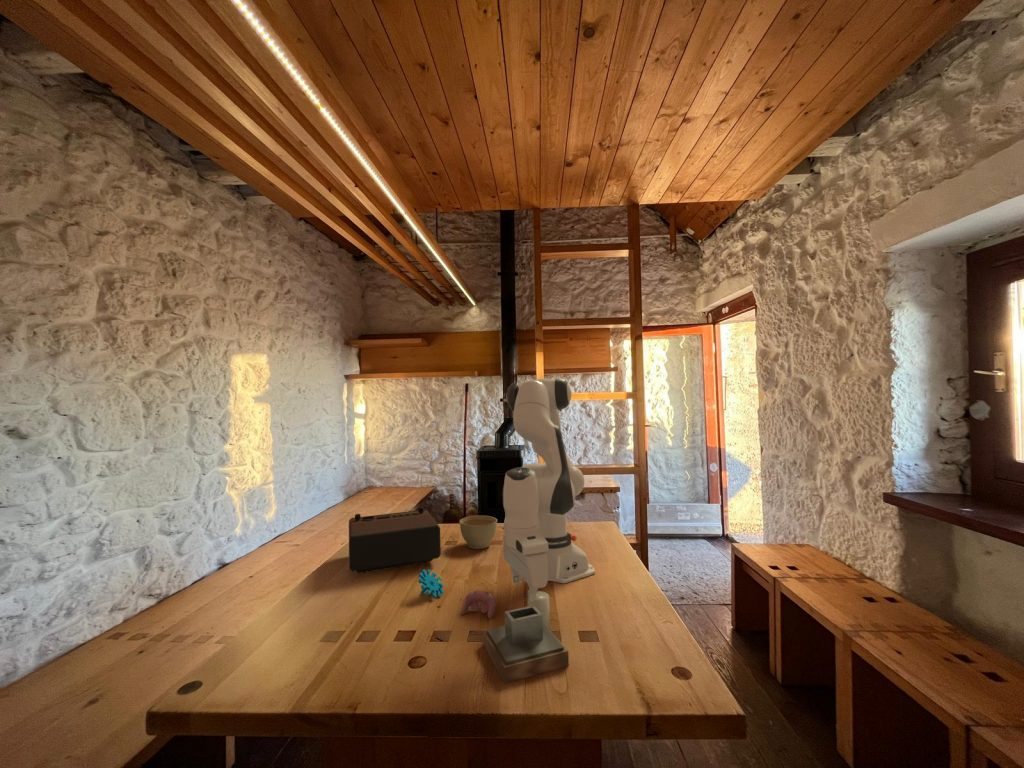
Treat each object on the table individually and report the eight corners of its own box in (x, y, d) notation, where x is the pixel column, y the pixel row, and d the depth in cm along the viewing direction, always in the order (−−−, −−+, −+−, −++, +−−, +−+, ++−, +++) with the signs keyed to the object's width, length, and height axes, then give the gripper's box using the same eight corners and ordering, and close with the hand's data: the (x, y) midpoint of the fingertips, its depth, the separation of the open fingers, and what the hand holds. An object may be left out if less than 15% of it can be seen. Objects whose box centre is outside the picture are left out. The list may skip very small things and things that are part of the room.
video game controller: (496, 619, 124) (499, 593, 127) (490, 619, 120) (494, 592, 123) (465, 615, 127) (469, 589, 130) (459, 614, 123) (463, 588, 126)
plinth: (540, 631, 114) (539, 616, 114) (568, 665, 99) (568, 648, 100) (483, 644, 109) (483, 628, 109) (504, 683, 94) (504, 664, 94)
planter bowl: (496, 552, 175) (496, 525, 175) (457, 552, 175) (457, 526, 175) (498, 539, 191) (497, 514, 191) (462, 539, 191) (462, 515, 191)
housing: (505, 636, 105) (504, 611, 105) (534, 629, 108) (534, 605, 108) (512, 647, 100) (511, 621, 101) (542, 639, 103) (542, 614, 104)
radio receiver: (433, 543, 187) (433, 502, 188) (447, 565, 162) (446, 517, 163) (348, 555, 174) (348, 511, 175) (349, 581, 149) (349, 529, 150)
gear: (432, 599, 131) (415, 571, 135) (420, 611, 132) (404, 583, 136) (451, 589, 141) (435, 564, 145) (440, 600, 142) (424, 575, 146)
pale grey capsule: (544, 618, 121) (543, 589, 122) (553, 628, 116) (552, 598, 116) (524, 622, 119) (524, 593, 119) (533, 633, 114) (532, 602, 114)
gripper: (496, 525, 114) (498, 576, 113) (526, 550, 95) (528, 613, 94) (518, 521, 116) (520, 572, 116) (551, 546, 97) (554, 607, 97)
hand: (524, 591), depth 105 cm, fingers open, 8 cm apart
